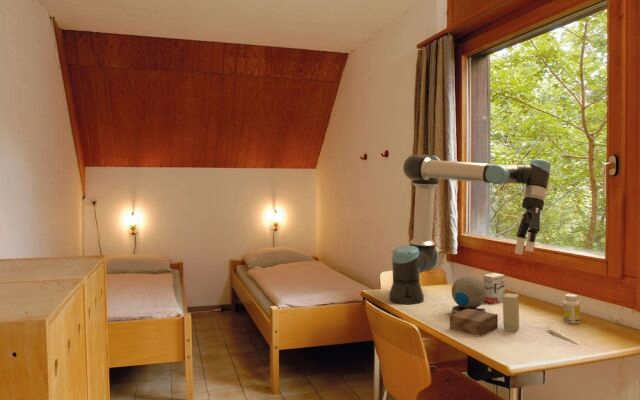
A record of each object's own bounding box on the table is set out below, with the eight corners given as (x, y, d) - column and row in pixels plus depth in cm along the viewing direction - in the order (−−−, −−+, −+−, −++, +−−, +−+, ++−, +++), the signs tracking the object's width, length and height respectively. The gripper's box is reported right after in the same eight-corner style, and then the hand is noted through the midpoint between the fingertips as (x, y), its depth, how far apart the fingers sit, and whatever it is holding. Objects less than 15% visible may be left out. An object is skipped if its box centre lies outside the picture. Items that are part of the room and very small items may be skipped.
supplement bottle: (578, 319, 177) (578, 293, 177) (581, 324, 172) (581, 297, 172) (562, 318, 179) (562, 293, 179) (564, 323, 174) (564, 296, 174)
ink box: (492, 304, 202) (492, 276, 201) (483, 302, 206) (482, 275, 205) (505, 301, 206) (505, 274, 206) (495, 299, 210) (495, 272, 210)
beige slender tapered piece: (543, 331, 166) (544, 325, 166) (550, 330, 167) (550, 325, 167) (575, 347, 152) (575, 342, 151) (582, 347, 152) (582, 341, 152)
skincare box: (516, 332, 165) (516, 298, 164) (502, 330, 167) (502, 296, 167) (519, 327, 170) (519, 294, 170) (506, 326, 173) (506, 292, 172)
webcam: (491, 312, 190) (491, 275, 189) (477, 320, 180) (476, 280, 180) (461, 307, 199) (460, 271, 198) (445, 314, 189) (445, 276, 189)
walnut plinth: (449, 329, 171) (449, 315, 171) (467, 321, 179) (466, 308, 179) (480, 336, 162) (480, 321, 162) (497, 328, 170) (497, 314, 170)
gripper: (555, 194, 171) (545, 252, 168) (533, 207, 195) (523, 257, 192) (534, 189, 172) (523, 246, 169) (514, 202, 197) (504, 252, 193)
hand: (523, 252), depth 180 cm, fingers open, 13 cm apart
